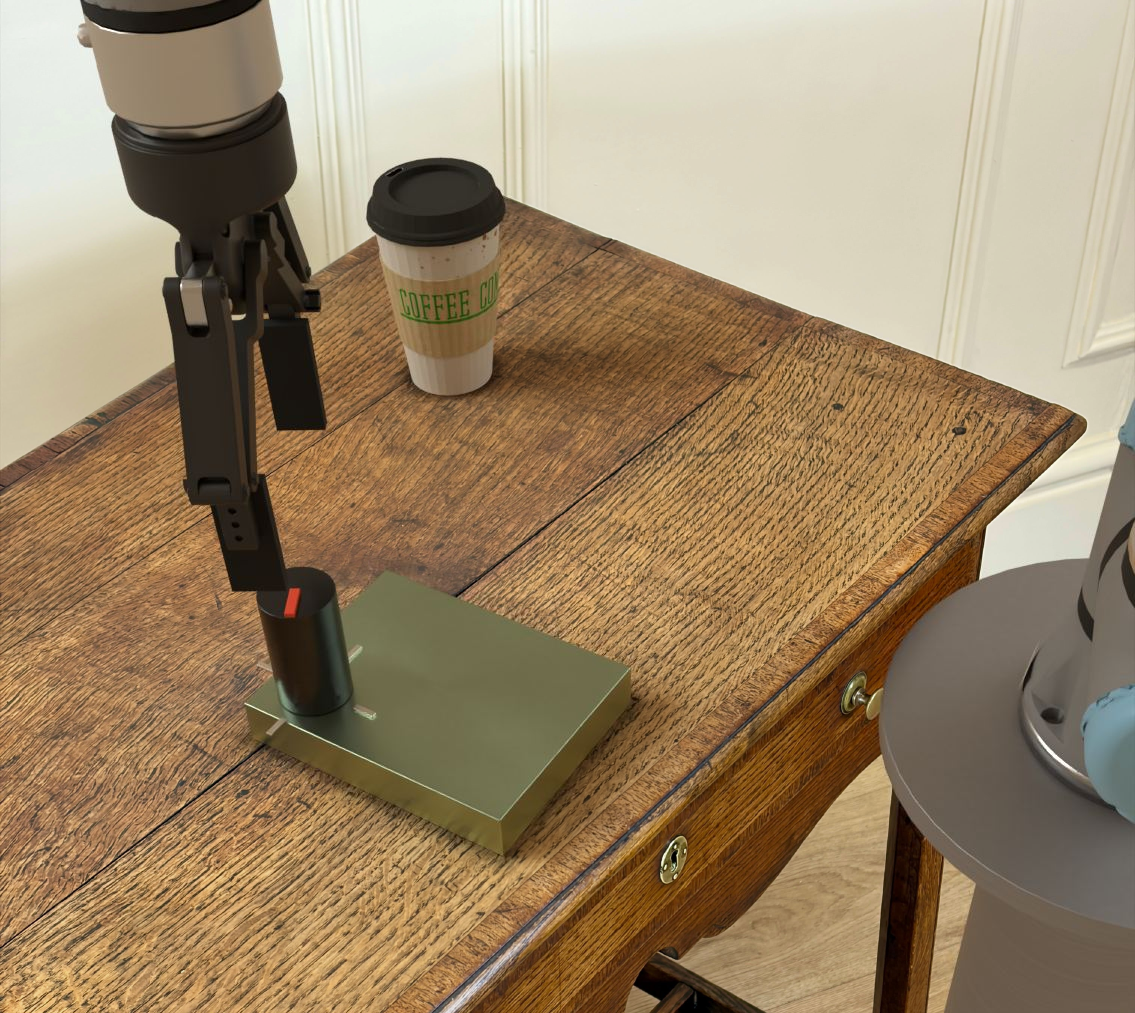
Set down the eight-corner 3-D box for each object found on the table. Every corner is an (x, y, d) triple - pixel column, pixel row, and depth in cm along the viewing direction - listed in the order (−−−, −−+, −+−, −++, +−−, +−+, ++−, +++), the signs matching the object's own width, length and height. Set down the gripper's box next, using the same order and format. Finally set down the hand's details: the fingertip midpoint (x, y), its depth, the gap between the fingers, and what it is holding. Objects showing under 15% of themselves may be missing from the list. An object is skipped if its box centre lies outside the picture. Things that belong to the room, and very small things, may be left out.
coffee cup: (459, 424, 116) (441, 235, 105) (360, 381, 121) (333, 195, 110) (542, 363, 122) (533, 176, 111) (444, 324, 126) (426, 140, 115)
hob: (631, 703, 96) (631, 665, 94) (490, 872, 87) (486, 835, 85) (375, 598, 103) (369, 560, 101) (221, 744, 95) (210, 706, 92)
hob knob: (284, 663, 95) (261, 562, 89) (357, 663, 95) (339, 561, 89) (272, 715, 92) (248, 614, 86) (348, 716, 92) (329, 614, 86)
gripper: (170, -11, 77) (252, 370, 92) (31, 250, 59) (161, 665, 75) (324, -16, 76) (381, 368, 91) (229, 246, 59) (319, 664, 74)
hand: (282, 502), depth 83 cm, fingers open, 13 cm apart
